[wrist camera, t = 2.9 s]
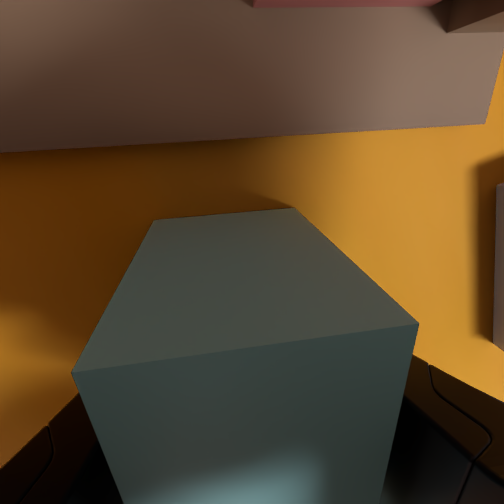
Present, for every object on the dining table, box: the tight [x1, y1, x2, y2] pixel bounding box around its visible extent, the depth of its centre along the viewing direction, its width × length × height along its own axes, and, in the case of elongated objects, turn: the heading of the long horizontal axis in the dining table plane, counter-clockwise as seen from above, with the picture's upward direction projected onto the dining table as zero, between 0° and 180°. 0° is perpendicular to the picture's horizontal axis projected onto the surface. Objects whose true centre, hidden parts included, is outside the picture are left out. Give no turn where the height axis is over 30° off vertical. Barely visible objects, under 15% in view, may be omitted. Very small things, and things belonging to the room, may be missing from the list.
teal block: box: [71, 208, 419, 504], centre depth 7 cm, size 6×4×6 cm, turn 3°
